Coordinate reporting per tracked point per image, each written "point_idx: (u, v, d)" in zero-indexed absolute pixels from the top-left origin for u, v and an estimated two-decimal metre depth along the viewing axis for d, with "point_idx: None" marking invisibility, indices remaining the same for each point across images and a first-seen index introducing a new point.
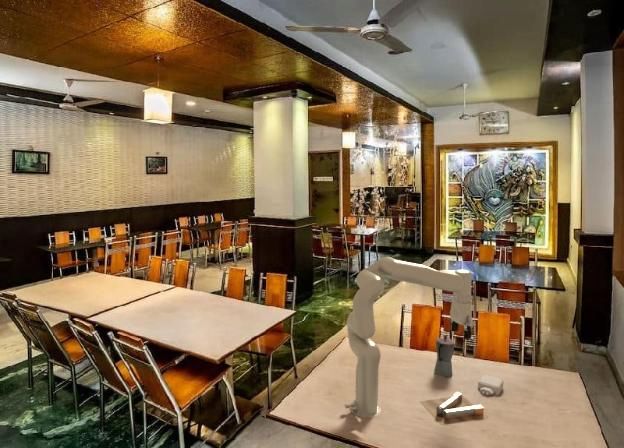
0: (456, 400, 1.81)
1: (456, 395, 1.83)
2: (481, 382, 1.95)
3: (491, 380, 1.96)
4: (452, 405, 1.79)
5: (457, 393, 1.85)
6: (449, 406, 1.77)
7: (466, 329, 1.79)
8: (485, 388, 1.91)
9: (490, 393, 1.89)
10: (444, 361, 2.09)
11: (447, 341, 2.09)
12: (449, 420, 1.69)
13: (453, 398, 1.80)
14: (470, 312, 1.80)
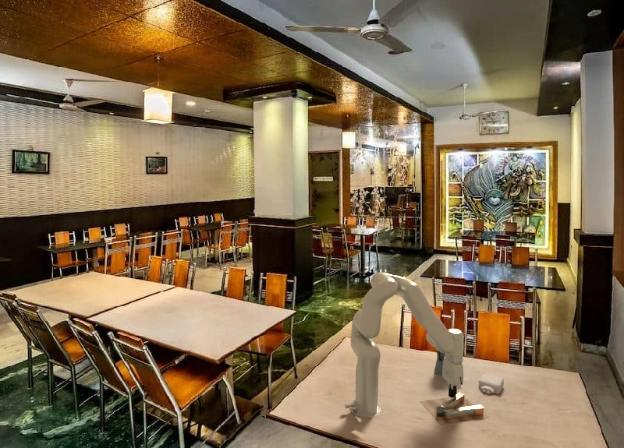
0: (458, 401, 1.80)
1: (458, 396, 1.82)
2: (482, 381, 1.96)
3: (492, 379, 1.98)
4: (453, 406, 1.78)
5: (459, 394, 1.84)
6: (450, 406, 1.76)
7: (452, 389, 1.83)
8: (486, 387, 1.93)
9: (491, 391, 1.91)
10: None
11: None
12: (449, 420, 1.69)
13: (454, 399, 1.80)
14: (462, 373, 1.80)
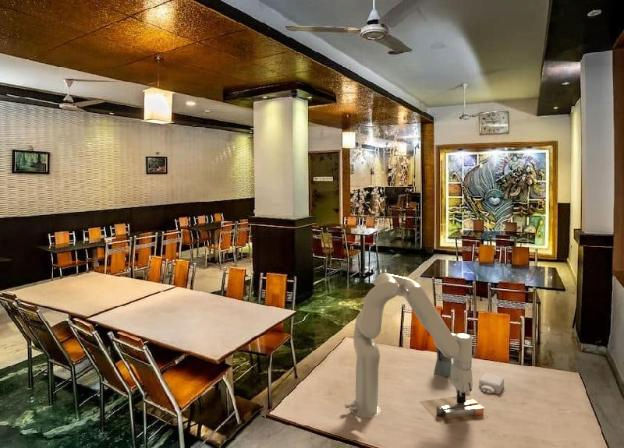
0: None
1: (469, 402, 1.77)
2: (482, 380, 1.97)
3: (492, 378, 1.98)
4: None
5: (472, 401, 1.78)
6: None
7: (460, 395, 1.77)
8: (486, 386, 1.93)
9: (491, 391, 1.91)
10: (444, 361, 2.09)
11: None
12: (449, 420, 1.69)
13: (463, 404, 1.76)
14: (471, 379, 1.74)
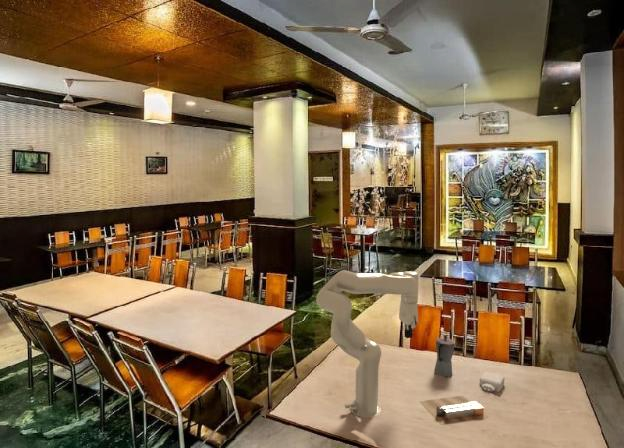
0: None
1: (470, 403, 1.76)
2: (482, 379, 1.98)
3: (492, 377, 2.00)
4: None
5: (474, 402, 1.77)
6: None
7: (407, 329, 1.88)
8: (486, 384, 1.95)
9: (491, 389, 1.93)
10: (444, 361, 2.09)
11: (447, 341, 2.09)
12: (449, 420, 1.69)
13: (464, 405, 1.75)
14: (416, 313, 1.85)
